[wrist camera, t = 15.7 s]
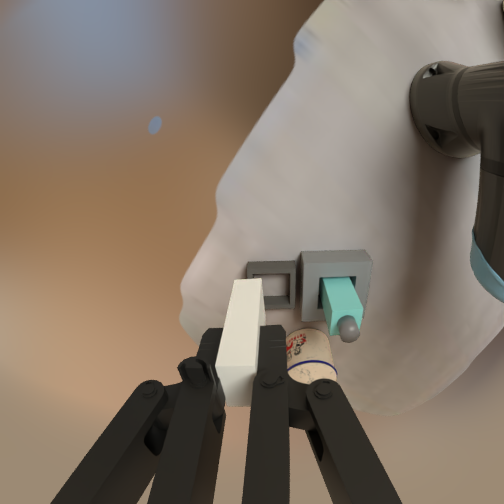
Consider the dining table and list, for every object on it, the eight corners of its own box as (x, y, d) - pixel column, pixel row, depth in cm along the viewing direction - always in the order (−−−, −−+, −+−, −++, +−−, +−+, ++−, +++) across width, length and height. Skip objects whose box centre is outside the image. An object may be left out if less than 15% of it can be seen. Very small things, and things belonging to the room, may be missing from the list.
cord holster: (294, 260, 43) (295, 268, 41) (293, 299, 46) (294, 308, 43) (248, 261, 43) (246, 269, 41) (250, 300, 46) (249, 309, 44)
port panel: (365, 249, 41) (372, 261, 38) (357, 304, 45) (363, 318, 42) (301, 251, 42) (303, 263, 38) (299, 306, 46) (301, 321, 43)
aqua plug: (344, 267, 43) (368, 321, 30) (342, 289, 44) (363, 345, 32) (319, 268, 43) (336, 323, 31) (318, 290, 45) (332, 348, 32)
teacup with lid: (298, 319, 47) (303, 369, 37) (339, 336, 49) (351, 384, 38) (264, 361, 52) (261, 409, 41) (303, 375, 53) (307, 422, 43)
